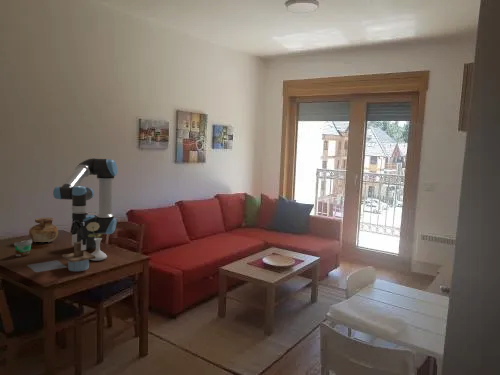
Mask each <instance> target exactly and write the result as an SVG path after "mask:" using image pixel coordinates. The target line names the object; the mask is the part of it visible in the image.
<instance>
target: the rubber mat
mask: <svg viewBox="0 0 500 375" xmlns="http://www.w3.org/2000/svg"><path fill="white" fill-rule="evenodd" d="M26 266H27V267H28V268H29V269H31V270H32V271H33V272H35V273H40V272H41V273H42V272H46V271H51V270H52V271H53V270H57V269H58V270H59V269H63V268H67V266H66V265H65V264H63V262H60V261H59V260H58V259H56V260H49V261H43V262H38V263H31V264H27V265H26Z"/></svg>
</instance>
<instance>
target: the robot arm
mask: <svg viewBox="0 0 500 375" xmlns="http://www.w3.org/2000/svg"><path fill="white" fill-rule="evenodd" d="M74 170H75V171H73V173H72V174H71V175H70V177H68V178H67V179H66V181H65V182H64V183H63V184H62V186H56V187H54V188H53V191H52V195H53V198H54V199H56V200H70V201H71V200H72V201H71V203H72V204H71V212H72V213H71V219H72V222H71V228H70V231H69V232H70V234H71V246H74V242H81V250H84V251H89V250H94V249H96V242H95V240H94V239H95V238H96V237H95V236H93V237H88V235H89V234H93V235H95V234H96V235H99V234H101V233H102V235H112V234H113V233H114V232H115V230H116V228H117V222H118V221H117V218H116V217H115V215H114V214H113V213H112V210H113V208H112V205H113V203H112V202H113V201H112V198H113V180H114V179H115V176H117V175H118V166H117V163H116V161H115V160H114V159H110V158H88V159H85V160H83V161H82V162H80V163H79V164H78V165H77V166H76V167H75V169H74ZM91 175H92V176H96V179H97V180H98V213H97V214H96V216H95V214H87V213H86V212H87V201H89V200H91V199H93V197H94V196H95V192H94V189H92V188H91V187H86V186H83V185H81V183H82V182H83V181H84V179H85V178H87V177H89V176H91ZM91 222H92V223H93V222H96V223H98V224H99V229H98V230H96V231H94V233H93V231H89V230H87V228H86V226H87V225H88V224H89V223H91Z"/></svg>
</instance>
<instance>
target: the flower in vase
mask: <svg viewBox="0 0 500 375" xmlns="http://www.w3.org/2000/svg"><path fill="white" fill-rule="evenodd" d="M86 228H87V230H89V231H93V233H94V231H96V230H98V229H99V224H98V223H96V222H93V223H92V222H91V223H89V224H88V225H87V226H86ZM102 235H103V234H102V233H101V234H96V235H95V234H94V235H93V234H89V235H88V237H93V236H94V237H95V239H94V240H95V242H96V248H95V250H94V251H93V252H91V254H92V255H94V256H95V259H89V261H90V260H91V261H95V262H97V261H104V260H106V259H107V258H108V255H107V254H106V253H105V252H104V251H102V250H101V241H102V239H103V238H101V236H102Z"/></svg>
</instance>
